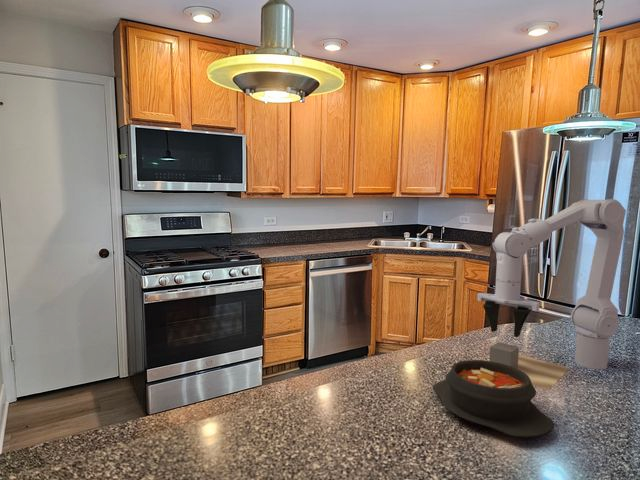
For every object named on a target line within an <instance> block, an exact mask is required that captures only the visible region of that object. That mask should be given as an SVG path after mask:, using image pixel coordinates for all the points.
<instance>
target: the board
mask: <svg viewBox="0 0 640 480" xmlns="http://www.w3.org/2000/svg"><path fill="white" fill-rule="evenodd" d="M487 361H489V359H488V360H487ZM570 369H571V367H569V366H564V365H560V364H557V363H552V362H549V361H544V360H541V359H536V358H533V357H529V356H526V355H520V354H518V370H520V371H522V372H524V373H525V374H526V375H528V376H529V378H530V380H531V383H532V385H533V386H534V387H539V388H542V389H546V390H550V389H552V387H553V386H554V385H555V384H556V383H558V381H559V380H560V379H561V378H562V377H563V376H564V375H565V374H566V373H567V372H568V371H569V370H570Z"/></svg>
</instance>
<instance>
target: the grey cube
mask: <svg viewBox="0 0 640 480" xmlns="http://www.w3.org/2000/svg"><path fill="white" fill-rule="evenodd" d="M519 351H520V347H519V346H516V345H512V344H509V343H503V342H500V341H497V342H496V343H494V344H493V345H490V346H489V357H488V360H489V361H491V362H497V363H501V364H505V365H508V366H511V367H514V368H516V369H518V355H520V354H519Z"/></svg>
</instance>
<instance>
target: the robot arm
mask: <svg viewBox="0 0 640 480" xmlns="http://www.w3.org/2000/svg"><path fill="white" fill-rule="evenodd" d="M626 212H627V210H626V209H625V207H624V206H623V205H622V203H621V202H620V201H619V200H617V199H613V198H612V199H611V198H610V199H609V198H608V199H581V200H579V201H576V202H573V203H572V204H571V205H570V206H568V207H566V208H564V209H563V210H561V211H558V212H557V213H556V214H553V215H551V216H550V217H548V218H546V219H544V220H543V219H541V218H530V219H528V220H527V223H525V224H523V225H521V226H519V227H518V226H517V227H515V226H514V227H513V228H511V231H510V232H507V231H504V232H501V233H499V234H498V235H497V236H496V238H495V239H494V242H492V248H493V251H494V252H495V254H496V255H495V256H496V258H495V259H496V271H495V288H494V289H495V293H486V292H479V293H477V298H476V299H477V302H484V304H483V305H482V306H483V307H482V308H483V310H484V311H485V313H486V315H487V318H488V320H489V321H488V322H489V325H490V332H493V333H495V332H497V330H498V325H499V324H498V322H499V311H500V307H501V305H503V306H507V307H513V308H515V309H513V315H514V328H513V329H514V330H513V336H514V338H518V337H520V336H521V332H522V329H523V326H524V324H525V322H526V320H527V318H528V316H529V314H530V313H531V312H533V311H534V312H538V311H540V301H535V300H530V299H527V298H526V299H525V298H523V297H521V284H522V283H521V282H522V267H523V265H522V264H523V257H524V256H525V255H526V254H527V253H528V251H529V249H532V248H533V247H535V246H537V245H538V244H541V243H543V242H545V241H547V240H549V239H550V238H551V236H552V233H553V232H555V231H558V230H560V229H562V228H564V227H566V226H570V225H572V224H574V223H576V222H577V223H579V224H581V225H583V226H584V227H586V228H588V229H589V230H590V231H591V232H592V233H593V234H594V235H595V236H596V241H595V246H594V252H593V255H592V261H591V265H590V271H589V275H588V281H587V285H586V290H585V294H584V296H582V297H580V298H578V299H577V300H576V304H575V307H573V310H572V311H571V313H570V320H571V323H572V325H573V326H575V327H574V330H575V331H576V336H575V337H576V339H575V351H574V353H575V354H574V363H575V364H577V365H578V366H580V367H583V368H587V369H592V370H606V369H608V363H609V359H610V356H609V355H610V339H612V338H613V336H614V335H616V333H617V331H618V329H619V319H618V313H619V309H618V308H617V306H616V305H615V304H614V303H613V302H612V300H611V298H612V293H613V290H614V289H613V288H614V285H615V284H614V283H615V279H616V275H617V269H618V265H619V259H620V255H621V249H622V245H623V241H624V235H625V230H624V224H625V223H624V221H625V217H626Z"/></svg>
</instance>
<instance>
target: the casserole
mask: <svg viewBox="0 0 640 480" xmlns="http://www.w3.org/2000/svg"><path fill="white" fill-rule="evenodd" d="M432 390H433V391H434V392H435V393H436V394H437V396H438V397H439V398H440V400H441V402H442V405H443V406H444V407H445V408H446V409H447V410H448V411H450V412H451V413H453V414H454V415H456V416H457V417H459V418H461V419H464V420H466V421H469V422H471V423H473V424H477V425H479V426H483V427H487V428H491V429H493V430H496V431H498V432H500V433H502V434H504V435H505V434H506V435H508V436H511V437H515V438H535V437H541V436H544V435H546V434H549V433H551V432H552V431H553V430H554V429H555V423H554V421H553V419H552V418H550V417H549V416H547V415H546V414H545V413H543V412H541V411H540V409H539V408H538V407H537V406H536V405H535V404H534V403H533V402H532V400H533V399H534V398H535V397H536V395H537V390H536V387H535V385H532V383H531V380H530V378H529V376H528V375H526V374H525V373H524V372H522V371H520V370H518V369H516V368H514V367H511V366H508V365H505V364H501V363H497V362H491V361H488V360H482V359H481V360H480V359H478V360H477V359H474V360H473V359H470V360H462V361H458V362H456V363H454V364H453V365H452V366H451V367H450V370H449V371H448V372H447V373H446V375H445V379H443V380H441V381H438V382H436V383H434V384H433V386H432Z"/></svg>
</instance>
